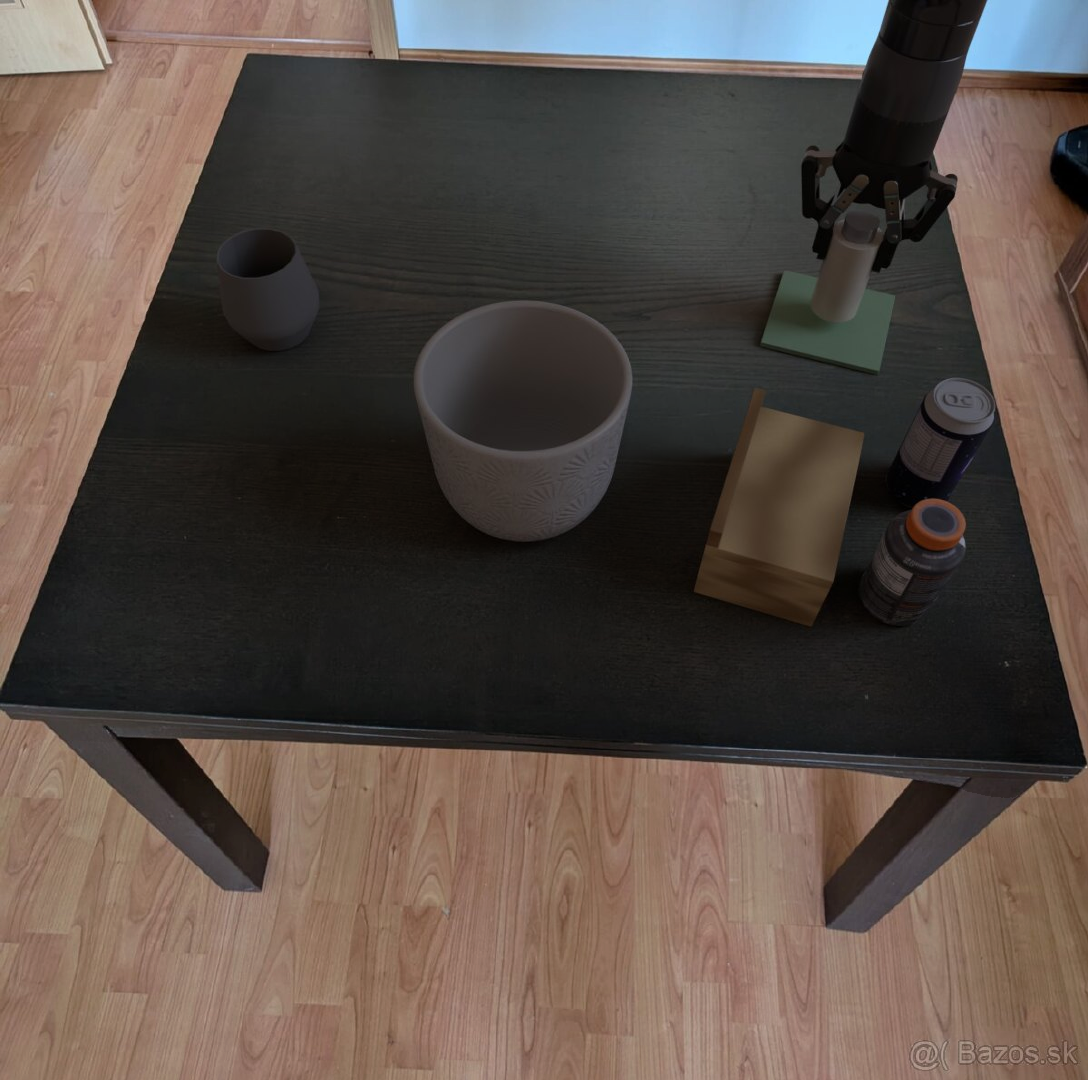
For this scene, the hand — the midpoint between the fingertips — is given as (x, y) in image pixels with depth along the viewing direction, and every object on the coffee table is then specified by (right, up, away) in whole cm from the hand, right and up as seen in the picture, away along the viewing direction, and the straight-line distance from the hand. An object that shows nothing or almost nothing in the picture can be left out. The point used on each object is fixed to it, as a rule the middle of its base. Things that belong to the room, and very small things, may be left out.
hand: (849, 260), depth 91 cm
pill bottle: (0, -32, -12) cm, 35 cm away
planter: (-32, -23, -6) cm, 40 cm away
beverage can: (+4, -23, -6) cm, 24 cm away
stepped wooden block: (-10, -27, -9) cm, 30 cm away
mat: (0, -4, +7) cm, 8 cm away
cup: (-57, -6, +5) cm, 58 cm away
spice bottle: (0, -3, +5) cm, 6 cm away
